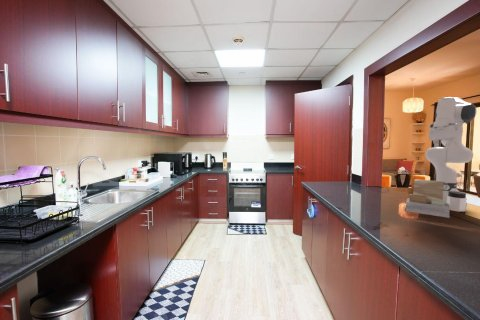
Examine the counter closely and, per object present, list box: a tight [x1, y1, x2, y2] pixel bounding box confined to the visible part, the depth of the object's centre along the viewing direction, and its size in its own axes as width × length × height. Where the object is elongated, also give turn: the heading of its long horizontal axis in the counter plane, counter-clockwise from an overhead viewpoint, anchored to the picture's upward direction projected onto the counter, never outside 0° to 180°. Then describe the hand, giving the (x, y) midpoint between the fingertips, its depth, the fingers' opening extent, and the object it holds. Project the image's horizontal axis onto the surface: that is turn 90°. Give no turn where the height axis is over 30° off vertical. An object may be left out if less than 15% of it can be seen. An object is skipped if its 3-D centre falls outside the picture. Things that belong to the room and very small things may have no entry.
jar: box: [447, 191, 468, 212], centre depth 147 cm, size 9×8×12 cm
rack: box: [405, 198, 451, 219], centre depth 144 cm, size 16×20×6 cm
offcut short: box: [431, 200, 445, 206], centre depth 140 cm, size 2×6×7 cm, turn 52°
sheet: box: [413, 178, 444, 203], centre depth 145 cm, size 2×14×18 cm, turn 52°
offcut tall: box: [409, 193, 427, 203], centre depth 145 cm, size 2×8×9 cm, turn 52°
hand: (442, 147), depth 146 cm, fingers open, 8 cm apart
